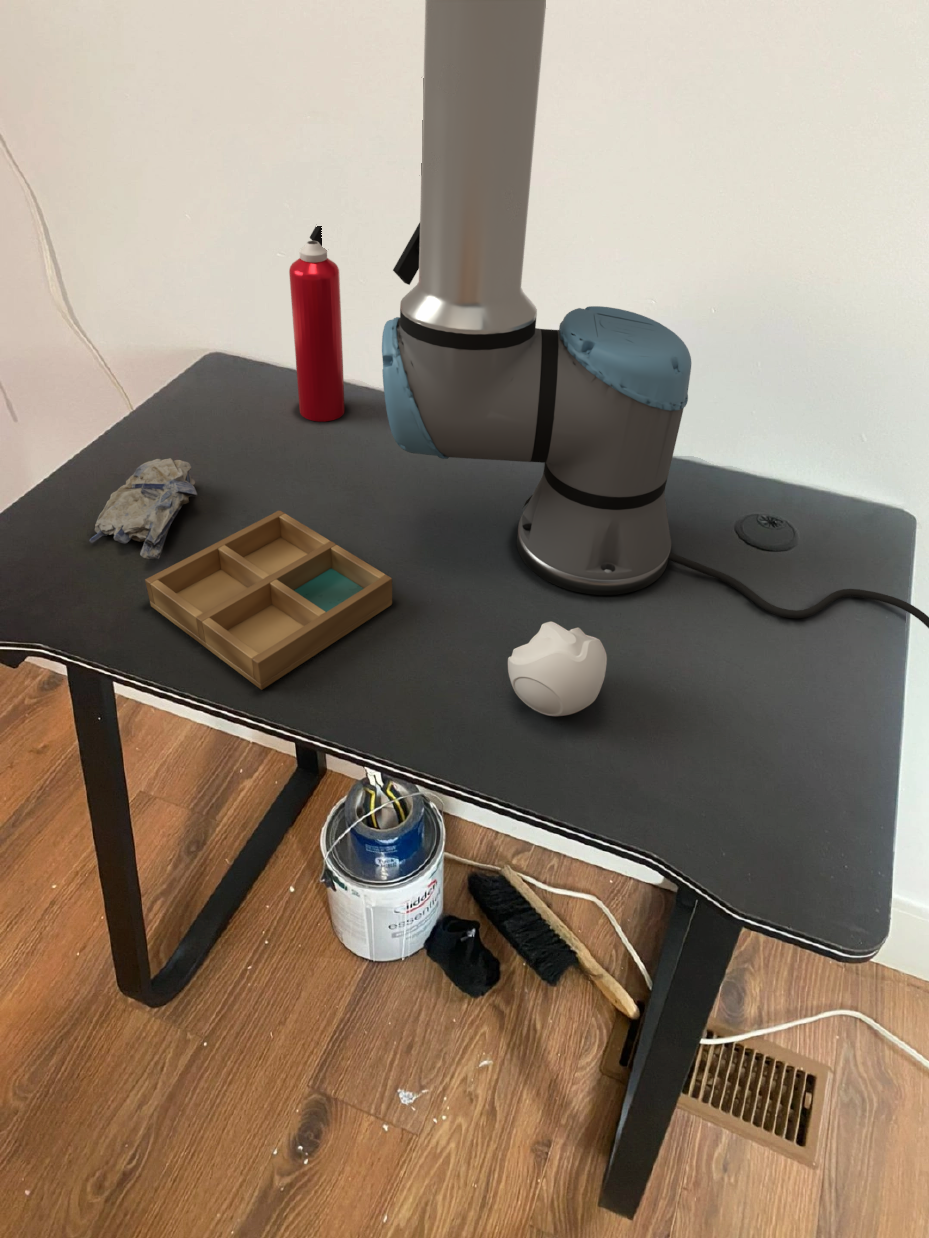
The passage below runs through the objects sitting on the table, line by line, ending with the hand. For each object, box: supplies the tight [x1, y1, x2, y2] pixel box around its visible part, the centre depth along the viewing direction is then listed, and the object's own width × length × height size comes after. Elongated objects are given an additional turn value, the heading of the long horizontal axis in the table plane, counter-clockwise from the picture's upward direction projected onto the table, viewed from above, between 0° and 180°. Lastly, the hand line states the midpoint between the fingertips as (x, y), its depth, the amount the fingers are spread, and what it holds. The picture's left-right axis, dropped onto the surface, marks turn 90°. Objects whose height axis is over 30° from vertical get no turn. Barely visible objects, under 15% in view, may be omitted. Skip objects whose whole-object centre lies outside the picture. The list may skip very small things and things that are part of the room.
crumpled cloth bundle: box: [89, 457, 198, 560], centre depth 91 cm, size 15×8×4 cm, turn 168°
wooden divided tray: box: [144, 510, 393, 691], centre depth 83 cm, size 15×15×3 cm
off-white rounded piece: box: [507, 621, 608, 717], centre depth 74 cm, size 8×8×8 cm
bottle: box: [288, 240, 346, 423], centre depth 105 cm, size 6×5×20 cm
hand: (358, 261), depth 105 cm, fingers open, 13 cm apart
